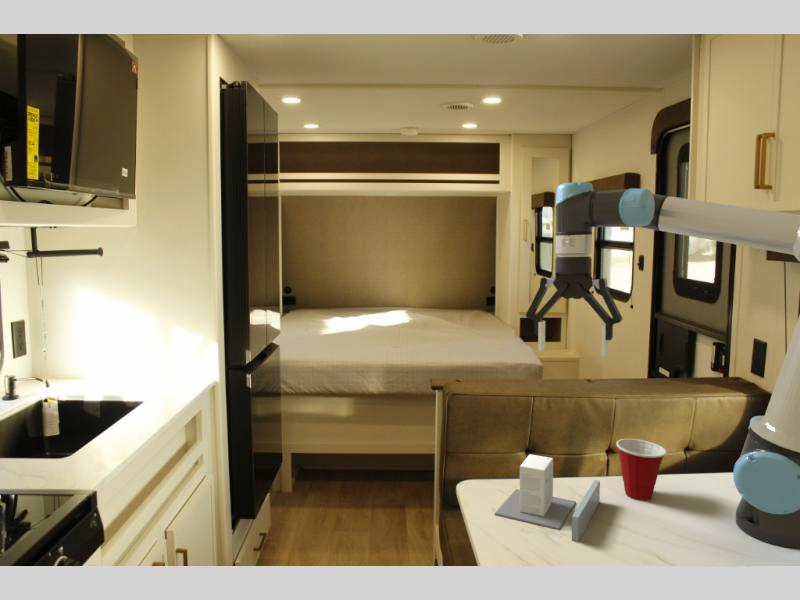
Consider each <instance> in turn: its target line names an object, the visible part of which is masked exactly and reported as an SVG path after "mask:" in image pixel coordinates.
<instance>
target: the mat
mask: <svg viewBox="0 0 800 600" xmlns="http://www.w3.org/2000/svg"><path fill="white" fill-rule="evenodd" d="M576 504H577V502H576V500H573V499H572V500H571V499H565V498H561V497H555V496H553V501H552V503H551V505H550V507H549V509H548V510H547V512H546V514H545V516H539V515H534V514H529V513H524V512H520V489H518V488H516V489H515V490H514V491H512V493H511V494H510V495H509V496H508V498H507V499H506V500H505V501H504V502H503V503H502V504H501V505H500V507H499V508H498V509H497V510H496V511H495V512H494V515H495V516H498V517H503V518H506V519H511V520H515V521H519V522H524V523H529V524H531V525H537V526H541V527H545V528H549V529H552V530H553V529H554V530H558V531H559V530H560V529H561V527H562V526H563V524H564V523H565V521H566V520H567V518H568V516H569V515H570V513H571V511H572V509H573V508H574V506H575V505H576Z"/></svg>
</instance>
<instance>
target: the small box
mask: <svg viewBox="0 0 800 600" xmlns="http://www.w3.org/2000/svg"><path fill="white" fill-rule="evenodd" d="M519 490H520V512H524V513H529V514H534V515H539V516H545V514H546V512H547V510H548V509H549V507H550V505H551V503H552V501H553V497H554V495H553V494H554V458H553V457H548V456H544V455H543V456H542V455H537V454H530V453H529V454H528V455H527V456H526V458H525V459H524V461H522V463H521V464H520V465H519Z"/></svg>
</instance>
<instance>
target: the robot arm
mask: <svg viewBox="0 0 800 600" xmlns="http://www.w3.org/2000/svg"><path fill="white" fill-rule="evenodd" d="M593 186H594V185H593V184H592V183H591V182H585V181H584V182H583V181H582V182H581V181H580V182H566V183H565V182H564V183H561V184H559V185H558V186H557V188H556V197H555V198H556V200H555V204H554V206H555V254H556V255H558V256H556V258H555V259H554V260H555V261H554V263H555V265H554V266H555V267H554V268H555V269H554V270H555V276H554V278H549V277H548V276H545V277H541V278H540V282H539V288H538V290H537V292H536V294H535V296H534V297H533V300H532V302H531V304H530V306H529V308H528V310H527V311H526V314H525V317H526V318H527V319H530V320H533V326H534V327H533V330H534V331H533V334H534V336H537V337H538V338H537V342H538V344H537V348H538V349H537V351H539V352H543V351H544V350H545V349H546V320H543V318H544V317H545V316H546V315H547V314H548V312H550V310H551V309H552V308H553V307H554V306H555V304H557V303H558V301H559V300H561V298H563V299H566V300H567V299H574V300H581V299H583V300H584V301H585V302H587V303H588V305H590V307H591V308H592V309H593V311H594V312H595V313H596V314H597V316H599V318H600V319H601V320H602V321H603V324H602V325H601V336H600V337H601V339H600V340H601V341H600V342H601V343H600V344H601V345H600V348H601V349H600V356H601V357H606V356H607V355H608V341H612V339H613V337H614V325H616V324H619V323H621V322H622V321H623V316H622V314H621V312H620V311H619V309H618V306H617V304H616V302H615V300H614V299H613V296H612V294H611V292H610V290H609V288H608V281H607V278H605V277H603V278H598V279H593V277H592V264H593V263H592V262H593V261H592V256H590V255H591V254H592V253H593V252H592V251H593V244H592V243H593V228H641V229H642V228H643V229H648V230H652V231H659V232H660V231H661V232H663V233H665V232H666V233H672V234H676V235H682V236H688V237H693V238H698V239H704V240H709V241H715V242H720V243H721V242H722V243H726V244H733V245H737V246H742V247H743V246H744V247H748V248H754V249H760V250H765V251H770V252H777V253H782V254H785V255H786V254H788V255H792V256H794V257H795V258H796V260H797V261H798V262H800V214H794V213H788V212H783V211H782V212H781V211H774V210H766V209H761V208H755V207H754V208H753V207H745V206H739V205H733V204H726V203H718V202H711V201H703V200H699V199H698V200H697V199H690V198H683V197H676V196H667V195H662V194H654V193H653V191H651V190H650V189H648V188H634V187H632V188H627V189H625V188H624V189H614V190H612V189H611V190H598V191H597V190H594V187H593ZM552 285H553V286H554V288H555V289H556V291H555V292H554V294H553V295H552V296H551V297H550V298H549V299H548V301H547V302H545V304H544V305H543V306H542V307H541V308H540V310H538V308H539V307H540V304H541V303H542V301H543V299H544V297H545V295H546V294H547V291H548V288H551V287H552ZM593 286H594V287H595V288H596V290H599V292H600V295H601V297H602V299H603V300H604V302H605V305H606V307H607V309H608V311H609V312H610V314H611V315H609V313H608V312H607V311H606V309H605V308H604V307H603V306H602V305H601V304H600V303H599V301H598V300H597V298H595V296H594V294H593V293H592V291H591V289H592V287H593ZM537 310H538V312H537ZM536 312H537V313H536ZM732 472H733V482H734V486H735V488H736V489H737V491H738V493H739V494H740V496H741V498H740V501H739V503H738V505H737V507H736V511H735V524H736V526H737V527H738V528H739V529H740V530H741V531H742V532H744V533H746V534H747V535H748V536H751V537H752V538H755V539H758V540H760V541H761V542H762V541H763V542H766V543H768V544H772V545H775V546H779V547H780V546H781V547H786V548H793V549H794V548H796V549H800V315H799V316H798V319H797V321H796V324H795V327H794V331H793V333H792V336H791V339H790V342H789V345H788V347H787V350H786V353H785V357H784V359H783V362H782V365H781V367H780V370H779V372H778V376H777V379H776V382H775V384H774V388H773V391H772V394H771V396H770V399H769V402H768V405H767V408H766V410H765V414H764V415H756V416H755V415H754V416H753V417H751V419H750V421H749V425H748V433H747V435H746V439H745V441H744V444H743V448H742V450H741V453H740V456H739V458H738V459H737V460H736V462H735V464H734V466H733V471H732Z"/></svg>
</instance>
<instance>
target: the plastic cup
mask: <svg viewBox="0 0 800 600" xmlns="http://www.w3.org/2000/svg"><path fill="white" fill-rule="evenodd" d="M616 448H617V450H618V455H619V461H620V468H621V469H620V470H621V475H622V481H623V485H624V486H623V488H624V492H625V495H626V496H627V497H628V498H630V499H633V500H637V501H649V500H651V499H652V497H653V495H654V489H655V485H656V483H657V479H658V475H659V472H660V465H662V461H663V460H664V459H663V458H664V456H666V455H667V450H666V449H665V448H664V447H663V446H661V445H659V444H657V443H655V442H650V441H648V440H644V439H637V438H620V439H619V440H617V441H616Z"/></svg>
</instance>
